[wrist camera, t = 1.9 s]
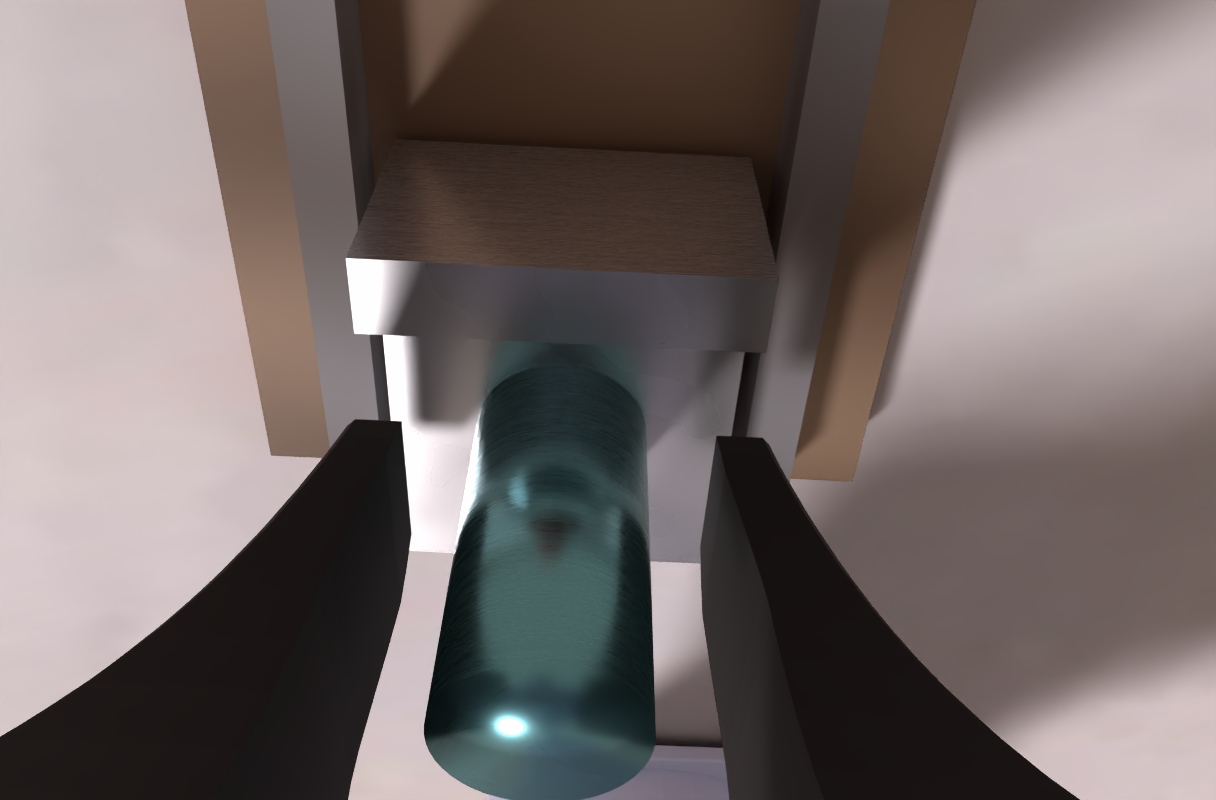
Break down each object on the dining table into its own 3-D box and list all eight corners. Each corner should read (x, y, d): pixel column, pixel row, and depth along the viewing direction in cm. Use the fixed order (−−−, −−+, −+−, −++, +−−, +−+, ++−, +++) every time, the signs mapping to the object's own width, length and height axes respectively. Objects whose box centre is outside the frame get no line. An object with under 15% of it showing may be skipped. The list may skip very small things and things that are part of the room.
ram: (703, 486, 18) (739, 872, 12) (421, 473, 18) (333, 857, 12) (751, 157, 14) (830, 501, 9) (395, 138, 14) (254, 474, 9)
